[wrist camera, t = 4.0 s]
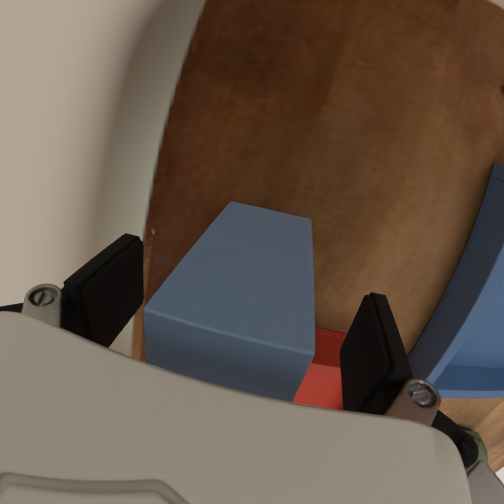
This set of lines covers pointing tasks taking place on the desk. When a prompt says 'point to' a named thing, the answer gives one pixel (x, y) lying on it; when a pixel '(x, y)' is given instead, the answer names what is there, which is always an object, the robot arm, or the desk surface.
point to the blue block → (239, 305)
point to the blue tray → (470, 312)
